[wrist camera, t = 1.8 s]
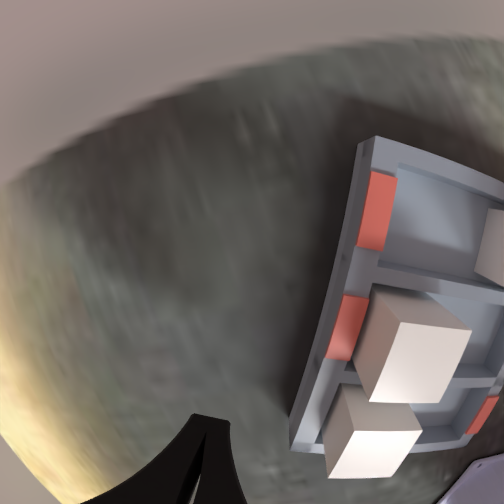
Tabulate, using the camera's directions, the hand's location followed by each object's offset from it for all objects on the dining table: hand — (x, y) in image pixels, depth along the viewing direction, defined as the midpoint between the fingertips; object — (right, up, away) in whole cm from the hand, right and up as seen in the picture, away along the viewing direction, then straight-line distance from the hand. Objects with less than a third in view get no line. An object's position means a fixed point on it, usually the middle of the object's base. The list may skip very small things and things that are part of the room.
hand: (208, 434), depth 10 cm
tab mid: (+7, +4, +2) cm, 9 cm away
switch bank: (+10, +3, +3) cm, 11 cm away
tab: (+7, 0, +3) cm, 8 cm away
